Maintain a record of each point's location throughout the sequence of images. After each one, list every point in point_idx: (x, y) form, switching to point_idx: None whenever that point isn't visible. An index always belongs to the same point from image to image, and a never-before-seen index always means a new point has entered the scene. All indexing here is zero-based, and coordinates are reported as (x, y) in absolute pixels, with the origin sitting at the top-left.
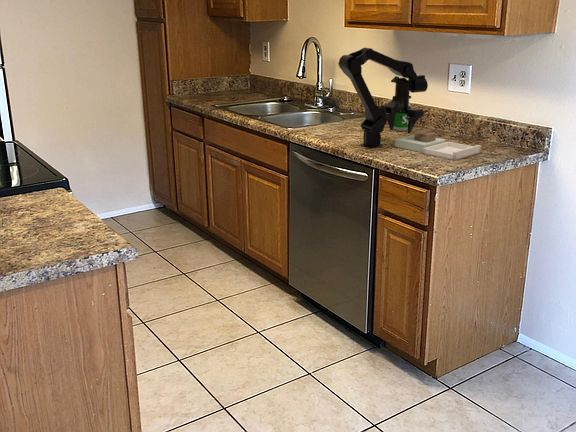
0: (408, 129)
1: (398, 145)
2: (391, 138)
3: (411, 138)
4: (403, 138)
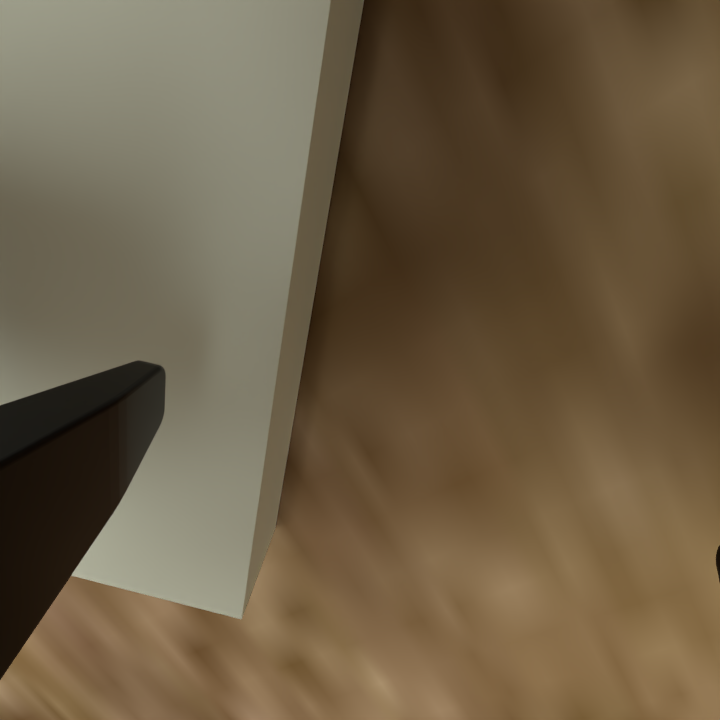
0: (68, 396)
1: None
2: (700, 533)
3: (65, 250)
4: (197, 135)
